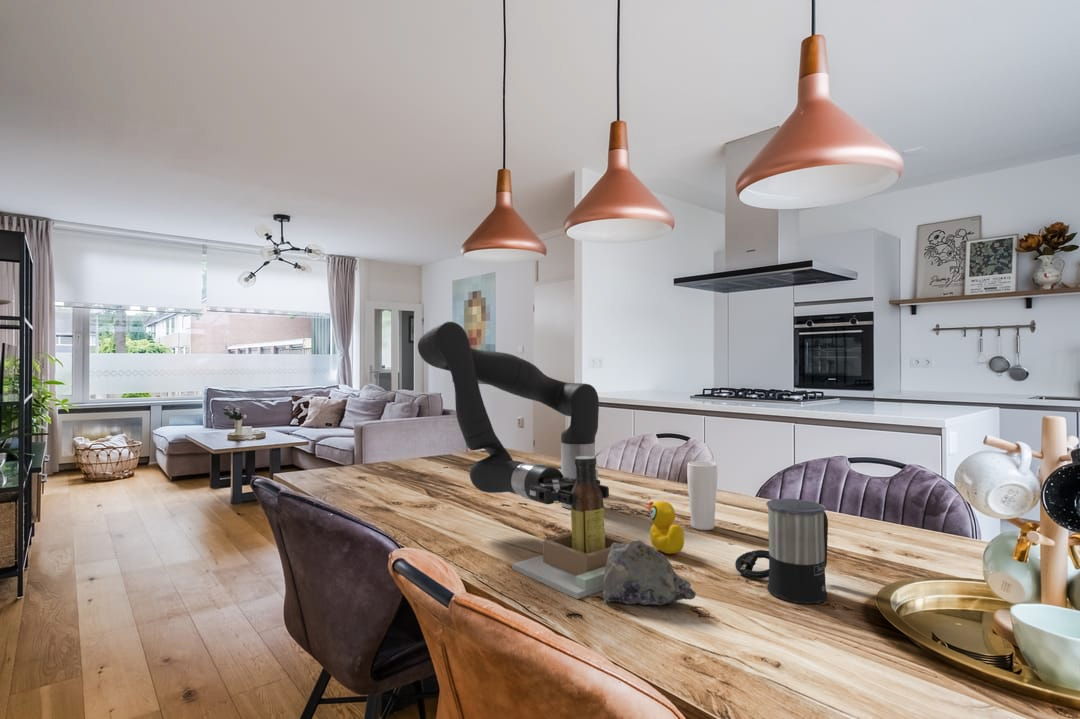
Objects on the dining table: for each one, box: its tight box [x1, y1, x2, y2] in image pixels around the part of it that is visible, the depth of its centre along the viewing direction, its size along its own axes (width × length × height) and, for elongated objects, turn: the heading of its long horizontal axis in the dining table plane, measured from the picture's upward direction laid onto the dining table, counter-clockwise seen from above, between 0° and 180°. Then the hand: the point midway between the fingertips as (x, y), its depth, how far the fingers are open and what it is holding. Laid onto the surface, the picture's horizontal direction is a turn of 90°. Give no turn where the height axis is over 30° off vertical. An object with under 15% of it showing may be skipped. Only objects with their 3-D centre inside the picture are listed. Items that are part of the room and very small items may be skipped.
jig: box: [511, 532, 632, 600], centre depth 107 cm, size 22×18×5 cm
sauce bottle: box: [570, 456, 606, 554], centre depth 107 cm, size 6×6×20 cm
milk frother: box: [734, 498, 829, 605], centre depth 98 cm, size 14×16×15 cm
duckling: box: [648, 500, 685, 555], centre depth 116 cm, size 11×5×10 cm, turn 19°
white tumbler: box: [686, 460, 718, 531], centre depth 133 cm, size 7×7×15 cm
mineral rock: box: [602, 539, 697, 606], centre depth 91 cm, size 13×11×10 cm
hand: (591, 496), depth 106 cm, fingers open, 8 cm apart
